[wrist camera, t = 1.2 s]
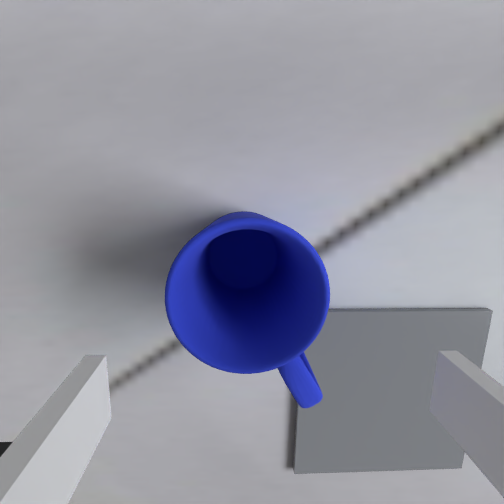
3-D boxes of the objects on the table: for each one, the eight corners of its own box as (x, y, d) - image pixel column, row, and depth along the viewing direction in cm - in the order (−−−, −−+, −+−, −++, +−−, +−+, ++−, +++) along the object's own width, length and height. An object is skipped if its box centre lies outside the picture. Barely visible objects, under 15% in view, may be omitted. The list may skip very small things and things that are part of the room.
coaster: (302, 309, 27) (303, 312, 27) (487, 308, 28) (492, 311, 27) (293, 468, 31) (294, 473, 30) (457, 462, 32) (461, 468, 31)
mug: (246, 356, 28) (253, 452, 18) (170, 234, 25) (130, 271, 15) (332, 310, 27) (387, 385, 18) (264, 181, 25) (283, 185, 15)
